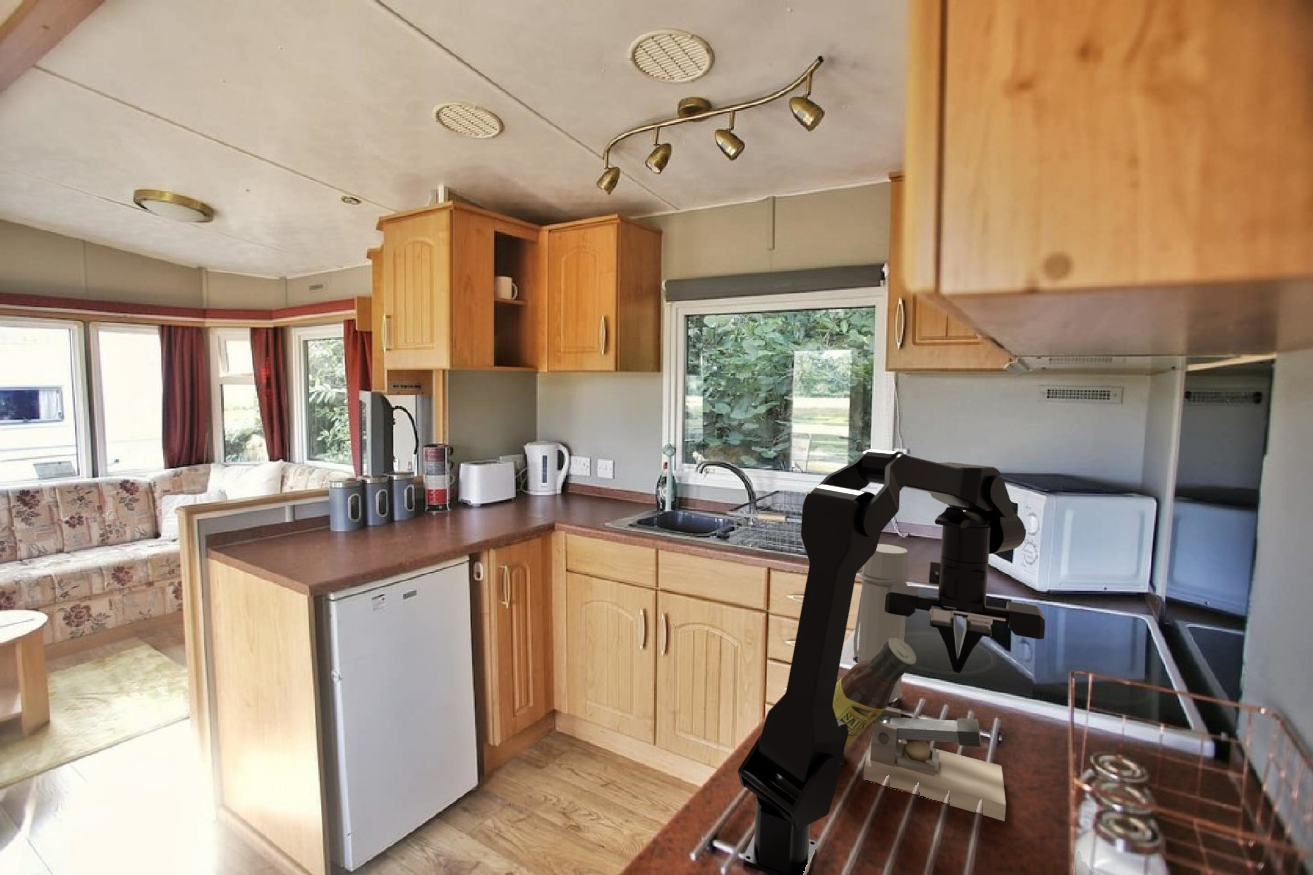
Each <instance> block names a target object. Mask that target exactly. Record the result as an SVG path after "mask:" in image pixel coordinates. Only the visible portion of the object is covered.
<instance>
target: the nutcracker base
mask: <svg viewBox="0 0 1313 875" xmlns="http://www.w3.org/2000/svg"><path fill="white" fill-rule="evenodd" d="M901 711H902V710H901V709H899V708H895V707H890V706H887V707H886V709H885V710H884V711H883V712H882V713H881V714H879V715H878V716H877V718H876V719H874V721H873V722H872V723H871V724H872V725H871V726H872V727H871V740H870V744H869V747H868V752H867V754H866V759H865V761H864V764H863V765H864V766H863V767H864V768H863V781H865V780H869V781H875V782H876V781H877V782H883V780H885V778H886V776H888V775H889V776H890V782H889V783H890V787H893V788H899V789H903V790H908V791H912V790H913V787H915V785H917V783H918V782H919V792H920V796H924V797H926V798H925V799H927V798H929V799H928V800H930V799H932V800H931V801H933V800H937V801H943V799H944V798H945V797H946V795H947V794H948V791H949V790H950V800H949V802H950V805H949V806H951V807H954V808H958V809H961V810H964V811H969V812H971V813H975V810H976V808H977V805H978V802H979V801H980V800H981V799H982V801H983V815H982V816H986V817H989V818H993V819H995V820H999V821H1002V822H1005V821H1006V820H1005V819H1006V807H1007V805H1006V804H1007V802H1006V795H1005V794H1006V793H1005V787H1004V776H1003V768H1002V765H1001V764H996V763H993V762H988V761H984V760H980V759H978V758H977V759H976V758H973V757H968V756H964V755H961V754H958V753H957V754H956V753H954V752H949V751H946V750H942V749H937V748H936V747H930V746H929V749H930V756H929V758H928V759H927V760H926V761H925V762H919V761H916V760H912V759H910V758H909V757H908V756H907V754H906V751H905V745H906V743H907V741H908V740H905V739H897V726H896V725H892V724H888V723H884V722H880V720H881V718H882V717H883V716H890V717H895V718H901ZM920 796H919V797H920ZM937 801H936V802H937Z"/></svg>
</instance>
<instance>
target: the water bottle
mask: <svg viewBox="0 0 1313 875" xmlns="http://www.w3.org/2000/svg"><path fill="white" fill-rule="evenodd" d="M856 577H858V578H859V579H861V581H862V583H861V591H860V598H859V604H858V611H857V618H856V622H855V628H854V629H855V630H854V636H853V653H854V654H853V655H854V657H857V663H859V662H863V661H866V660H867V661H871V660H872V659H873V657H875V656H876V655H877V654H878V653H879V652H880V651H881V650H882V649H883V646H884V644H885V643H886V642H887V641H888V640H889V639H890V638H898V639H900V640H902V641H904V642H905V631H906V617H907V616H901V615H895V614H889V613H887V612H885V598H886V593H887V591H888V589H889V587H890V586H891V585H893V584H898V585H905V586H908V584H907V583H908V582H909V579H910V576H909V554H908V549H906V548H904V547H901V546H897V545H892V544H884V543H883V544H881V543H878V545H877V549H876V552H875V553H874V554H873V556H872V557H871V558H870V559H869V560H868V561H867V562H866V563H865V564H864V565H863V566H862V571H861V572H860V573H858V574H856ZM902 680H903V675H902V676H901V677H900V678H899V680H898V681H897V683H895V686H894V689H893V691H892V694H891V697H890V699H889V702H888V704H893V703H892V701H893V700H894V699H895V698H899V699H900V698H901V695H902V682H903V681H902Z"/></svg>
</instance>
